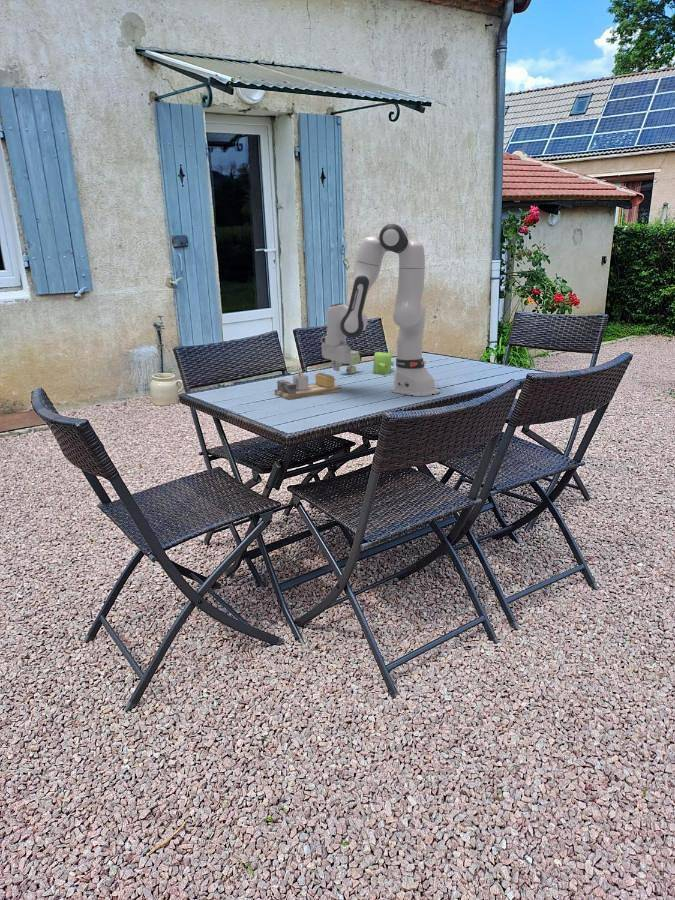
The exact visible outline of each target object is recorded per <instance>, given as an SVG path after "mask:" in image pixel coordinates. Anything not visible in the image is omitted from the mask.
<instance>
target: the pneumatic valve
mask: <svg viewBox="0 0 675 900" xmlns="http://www.w3.org/2000/svg"><path fill="white" fill-rule="evenodd" d="M350 350H351V362H350V363H349V364H343V363H341V366H346V367H345V368H346V369H345V372H346V374H349V375H351V374H352V373H353V374H356V373H357V372H356V371H357V366H355V365H359V364H361V362H362V358H363V357H362V353H361V351H360V350H353V349H350ZM353 374H352V375H353Z"/></svg>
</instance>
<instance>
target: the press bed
mask: <svg viewBox="0 0 675 900" xmlns="http://www.w3.org/2000/svg"><path fill="white" fill-rule="evenodd" d="M276 382H277V383H276V384H277V388H276V389H274V394H275V395H276V394H277V395H276V396H279V397H281V396H282V398H283V399H287V400H289V401H290V400H296V398H297V399H303V398H308V397H309V396H310V397H315V396H316V397H317V396H321V395H328V394H334V393H341V392H342V389H341V386H338V385H335V384H334V387H324V386H321V385H318V384H316V383H310V384H309V383H308V385H309V389H307V390H300V391H298V390H296V384H293V382H290V381H287V380H285V379H282V380H277V381H276ZM302 397H303V398H302Z"/></svg>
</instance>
